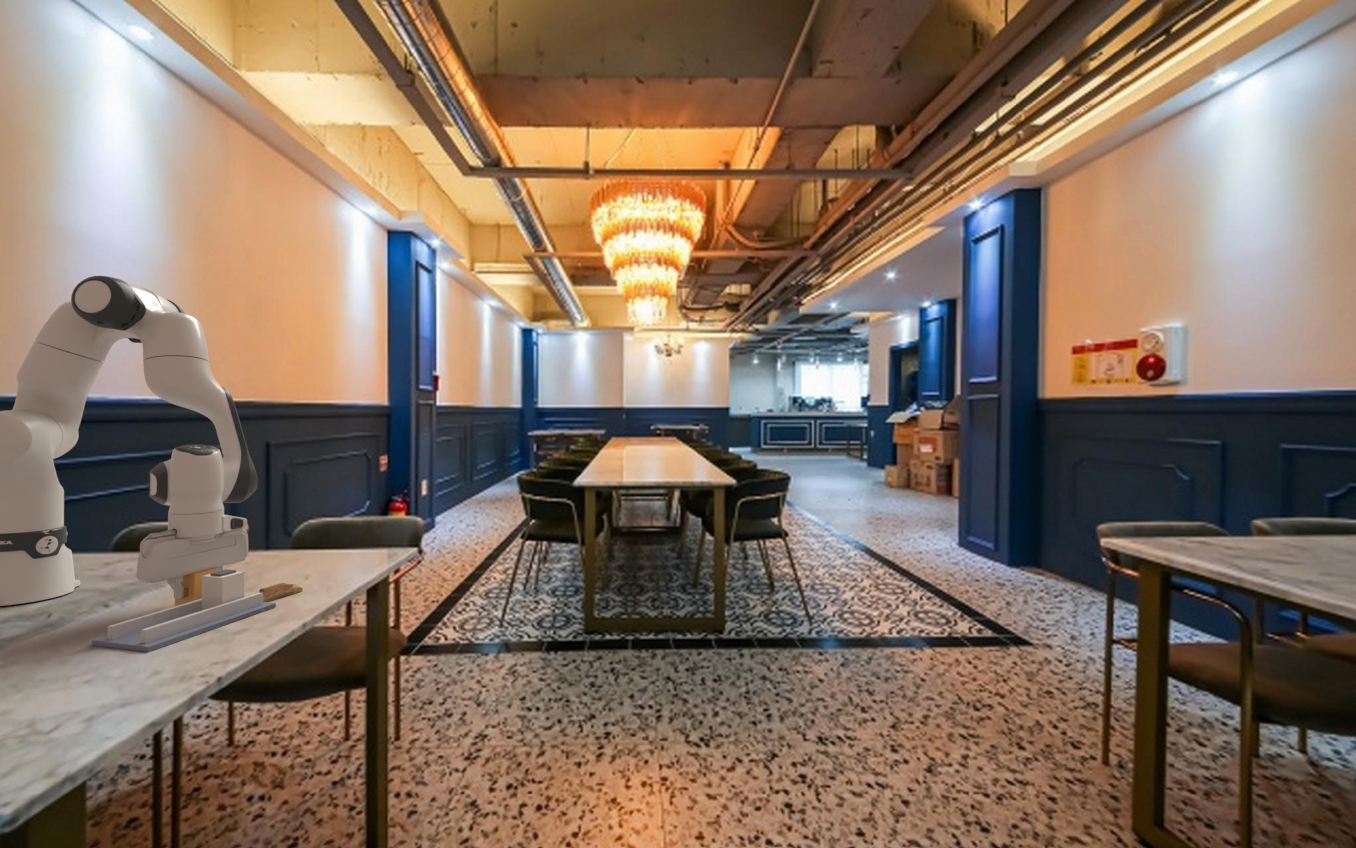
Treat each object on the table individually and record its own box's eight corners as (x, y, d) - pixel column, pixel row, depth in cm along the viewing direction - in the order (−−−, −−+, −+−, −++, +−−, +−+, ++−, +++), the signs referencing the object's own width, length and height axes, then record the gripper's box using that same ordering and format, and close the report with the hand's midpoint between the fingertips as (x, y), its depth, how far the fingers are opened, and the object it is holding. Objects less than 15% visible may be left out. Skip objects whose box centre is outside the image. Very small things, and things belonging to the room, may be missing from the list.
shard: (257, 608, 122) (257, 599, 122) (229, 604, 124) (229, 595, 124) (304, 593, 132) (304, 585, 132) (277, 590, 135) (277, 582, 135)
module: (174, 607, 120) (175, 570, 120) (197, 601, 124) (197, 565, 124) (194, 609, 119) (194, 572, 119) (216, 602, 123) (216, 566, 123)
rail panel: (91, 645, 100) (91, 596, 100) (226, 602, 123) (227, 562, 123) (148, 651, 98) (149, 601, 97) (275, 607, 121) (276, 566, 121)
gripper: (154, 535, 110) (153, 610, 110) (254, 518, 130) (253, 581, 130) (127, 533, 112) (126, 608, 112) (230, 516, 132) (229, 579, 132)
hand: (195, 593), depth 121 cm, fingers closed on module, 4 cm apart
